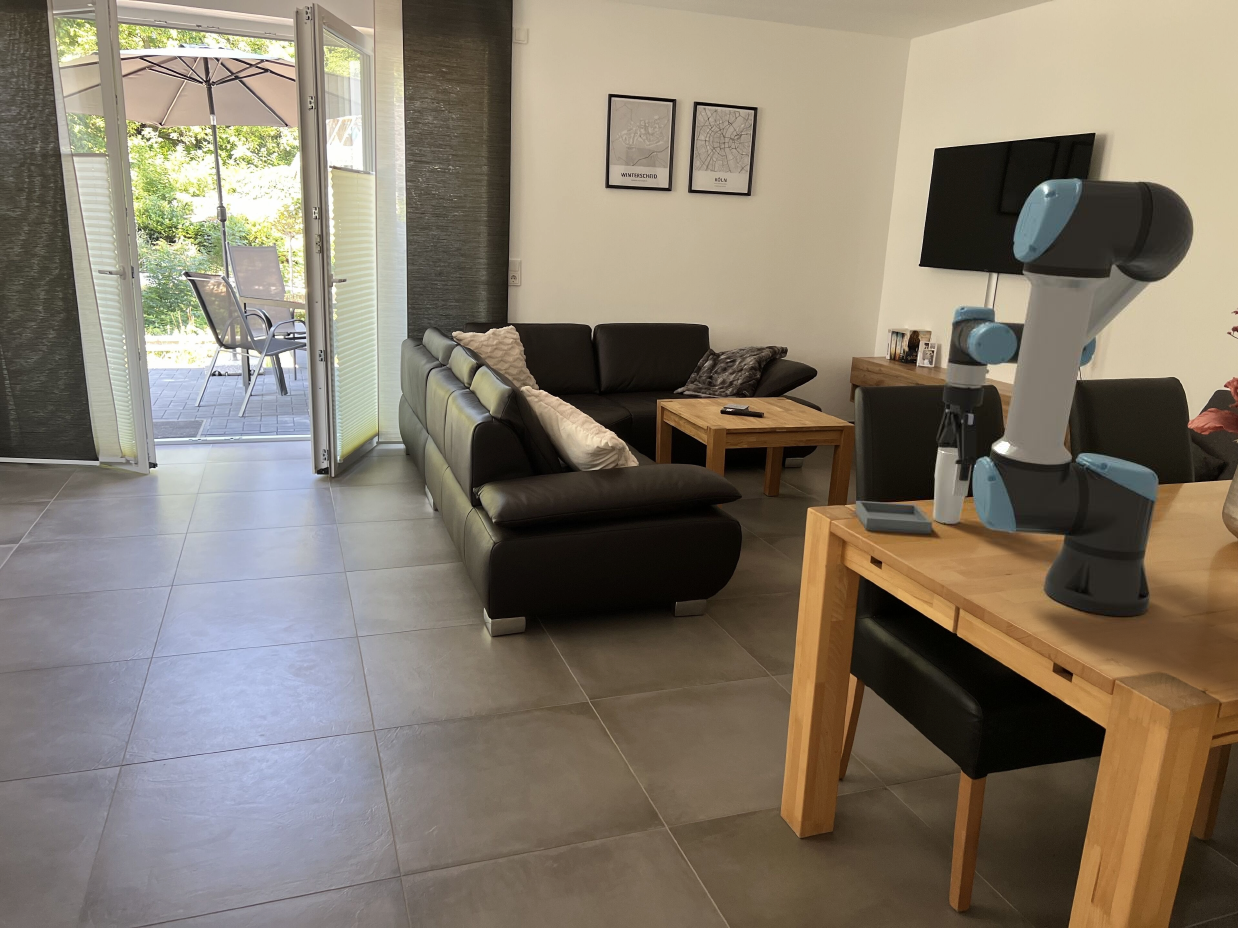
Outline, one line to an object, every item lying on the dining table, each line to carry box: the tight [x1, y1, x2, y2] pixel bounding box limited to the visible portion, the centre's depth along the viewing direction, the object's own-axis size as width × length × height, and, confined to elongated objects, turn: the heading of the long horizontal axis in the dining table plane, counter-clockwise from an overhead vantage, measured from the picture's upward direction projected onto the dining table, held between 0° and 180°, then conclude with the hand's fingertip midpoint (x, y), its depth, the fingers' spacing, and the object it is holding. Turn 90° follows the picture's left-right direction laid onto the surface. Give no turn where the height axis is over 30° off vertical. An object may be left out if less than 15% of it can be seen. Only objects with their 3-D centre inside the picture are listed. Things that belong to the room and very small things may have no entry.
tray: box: [854, 500, 933, 535], centre depth 180 cm, size 13×13×2 cm
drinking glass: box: [932, 447, 968, 525], centre depth 182 cm, size 7×7×15 cm
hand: (950, 486), depth 182 cm, fingers open, 13 cm apart
